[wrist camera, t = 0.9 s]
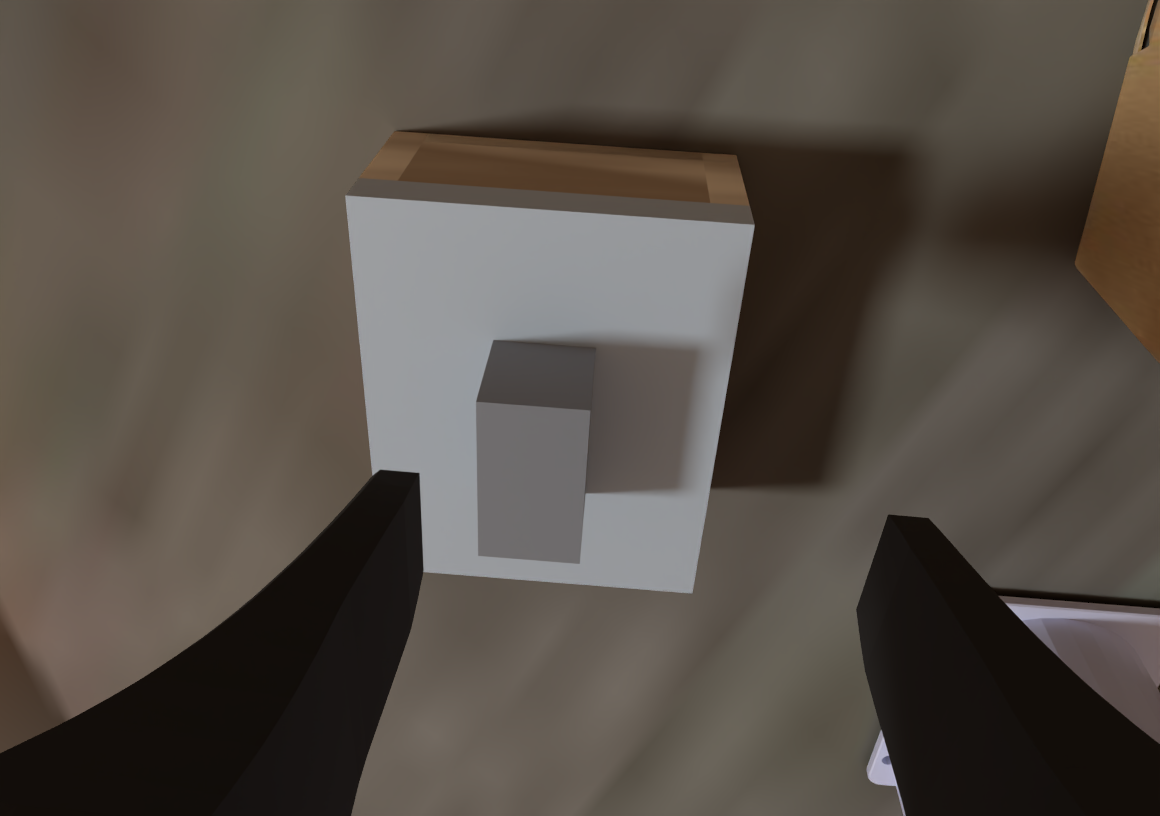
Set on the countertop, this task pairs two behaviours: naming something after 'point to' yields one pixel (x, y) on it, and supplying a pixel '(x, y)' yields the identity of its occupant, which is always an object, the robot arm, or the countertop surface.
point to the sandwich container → (1130, 199)
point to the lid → (549, 372)
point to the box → (559, 168)
